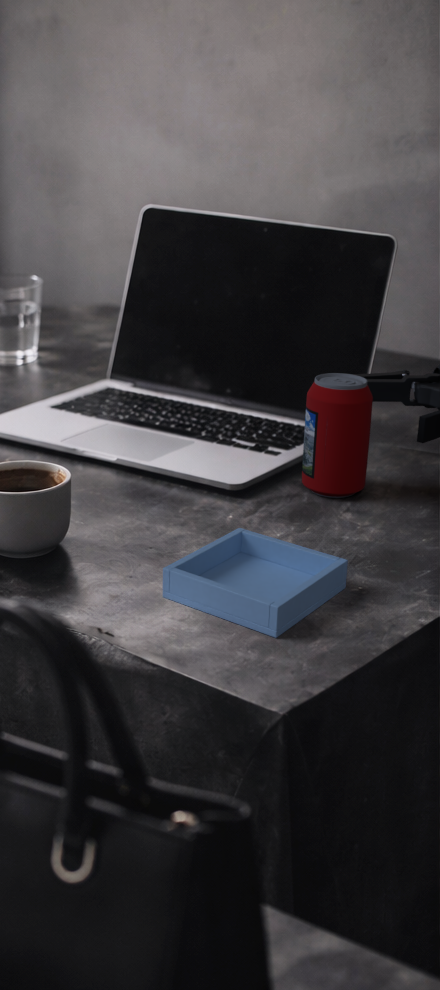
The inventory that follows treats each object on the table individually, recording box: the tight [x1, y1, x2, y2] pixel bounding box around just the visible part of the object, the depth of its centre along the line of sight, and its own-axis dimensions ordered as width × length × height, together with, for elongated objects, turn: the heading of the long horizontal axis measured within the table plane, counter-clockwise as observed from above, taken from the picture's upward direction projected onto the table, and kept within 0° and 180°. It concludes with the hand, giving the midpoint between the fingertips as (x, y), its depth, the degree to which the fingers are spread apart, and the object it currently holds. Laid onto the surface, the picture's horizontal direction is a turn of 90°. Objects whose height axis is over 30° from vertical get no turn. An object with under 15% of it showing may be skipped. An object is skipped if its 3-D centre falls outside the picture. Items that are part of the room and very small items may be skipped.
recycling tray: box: [162, 527, 349, 639], centre depth 80 cm, size 11×11×3 cm
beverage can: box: [301, 372, 374, 499], centre depth 102 cm, size 7×7×12 cm
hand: (367, 415), depth 105 cm, fingers open, 13 cm apart
